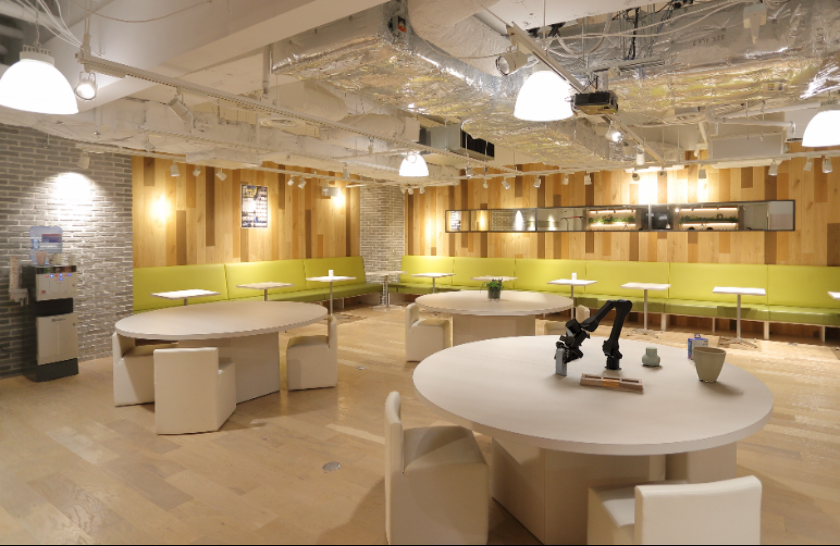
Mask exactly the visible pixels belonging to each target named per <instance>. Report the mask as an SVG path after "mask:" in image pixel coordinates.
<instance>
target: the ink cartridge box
mask: <svg viewBox="0 0 840 546" xmlns="http://www.w3.org/2000/svg"><path fill="white" fill-rule="evenodd" d="M693 336H694V337H688V338H687V358H688V359H689V360H691V359H692V361H694V357H693V347H698V346H702V347H709V339H708V338H705V337H702V336H701V334H699V333H698V334H695V333H694V335H693Z"/></svg>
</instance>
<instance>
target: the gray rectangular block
mask: <svg viewBox="0 0 840 546" xmlns="http://www.w3.org/2000/svg"><path fill="white" fill-rule="evenodd" d="M555 354H556V360H555V373H556V374H557V375H559V376H567V375H568V363H566V364H564V361H565V360H566V358H567V357H568V353H567V351H565V350H563V349H557V348H556V349H555Z"/></svg>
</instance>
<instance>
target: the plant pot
mask: <svg viewBox="0 0 840 546" xmlns="http://www.w3.org/2000/svg"><path fill="white" fill-rule="evenodd" d="M726 356H727V350H725V349H722V348H717V347H712V346H708V347H702V346H698V347H693V357H694V360H693V361H694V366H695V367H694V368H695V370H696V374H697V376H698V379H699V380H700V381H701V380H703V381H702V382H704V381H707V383H715V382H714V381H716V382H717V381H718V378H719V376H720V374H721V372H722V370H723V366H724V364H725V360H726Z"/></svg>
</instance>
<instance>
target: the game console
mask: <svg viewBox="0 0 840 546" xmlns="http://www.w3.org/2000/svg"><path fill="white" fill-rule="evenodd" d="M565 336H566V337H568V336H571V337H573V336H574V334H572V333H571V332H570V331H569V330H568V329H565ZM578 348H579V349H580V346H579V347H578ZM569 352H570V351H568V350H567V356H568V355H569Z"/></svg>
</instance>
